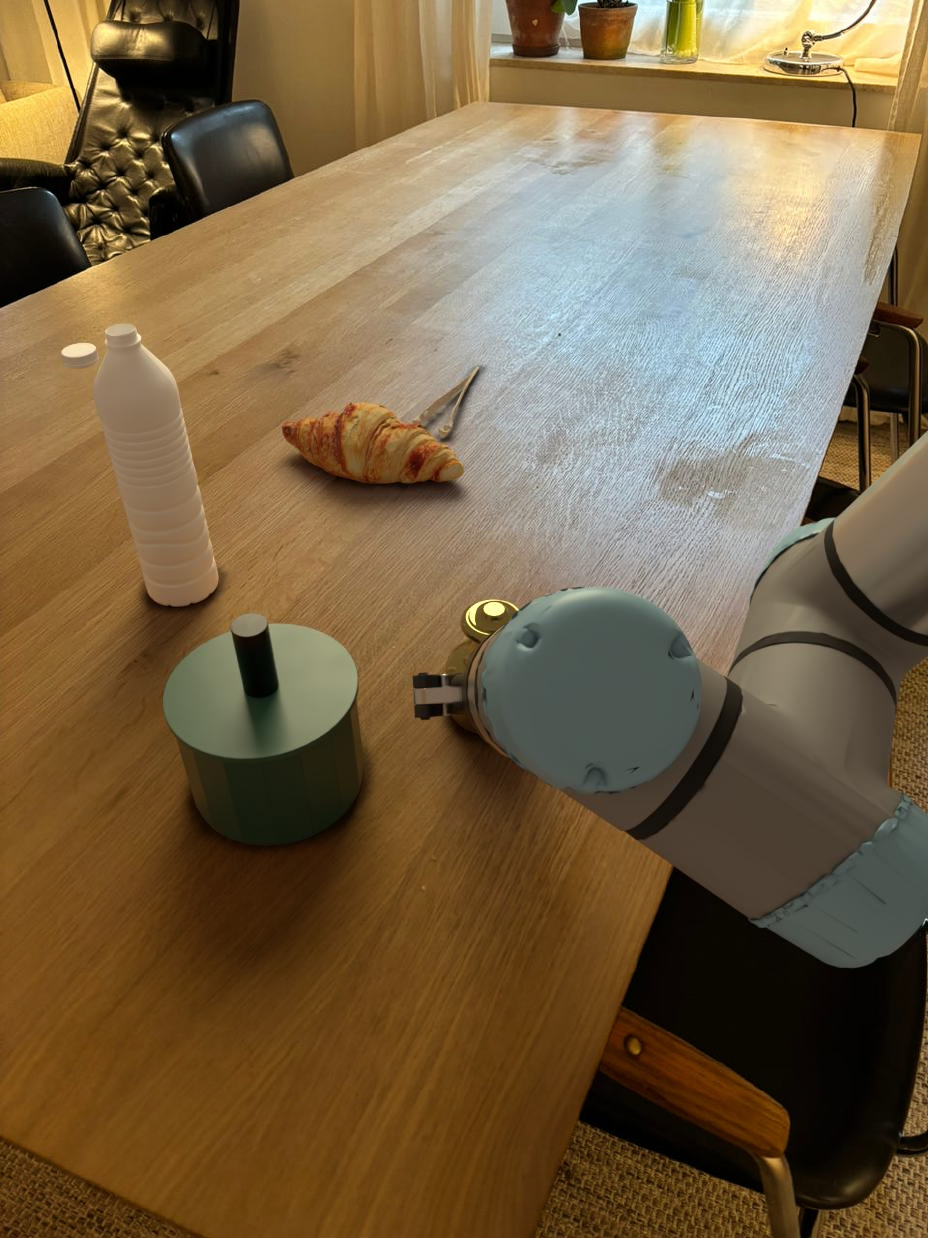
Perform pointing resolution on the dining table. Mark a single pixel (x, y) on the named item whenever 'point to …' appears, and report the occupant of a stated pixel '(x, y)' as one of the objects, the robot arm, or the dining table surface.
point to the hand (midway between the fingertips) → (496, 691)
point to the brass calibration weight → (477, 638)
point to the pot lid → (260, 692)
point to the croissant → (372, 446)
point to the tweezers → (444, 399)
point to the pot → (280, 789)
